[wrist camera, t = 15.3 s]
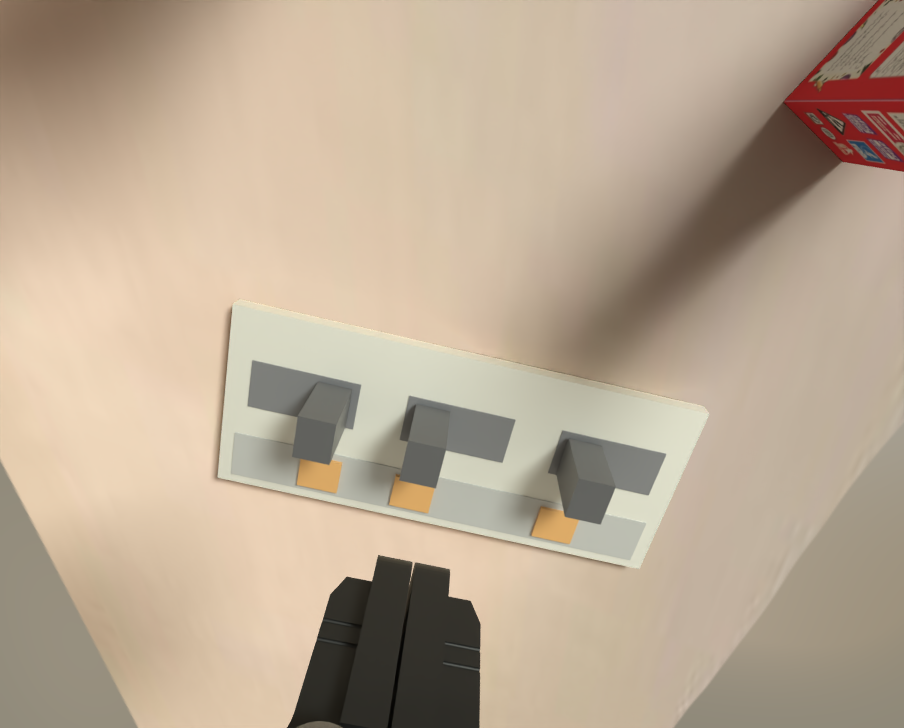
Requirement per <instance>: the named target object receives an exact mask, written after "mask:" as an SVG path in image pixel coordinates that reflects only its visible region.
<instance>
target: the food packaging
mask: <svg viewBox="0 0 904 728" xmlns="http://www.w3.org/2000/svg"><path fill="white" fill-rule="evenodd" d="M784 103H785V104H786V105H787V106H788V107H789V108H790V109H791V110H792V111H793V112H794V113H795V114H796V115H797V116H798V117H799V118H800V119H801V120H802V121H803V122H804V123H805V124H806V125H807V126H808V127H809V128H810V129H811V130H812V131H813V132H814V133H815V134H816V135H817V136H818V137H819V138H820V139H821V140H822V141H823V142H824V143H825V144H826V145H827V146H828V147H829V148H830V149H831V150H832V151H833V152H834V153H835V154H836V155H837V156H838V157H839V158H840V159H841V160H842V161H843V162H847V163H854V164H860V165H866V166H872V167H878V168H884V169H890V170H897V171H903V172H904V0H878V1H877V3H876V4H875V5H874V6H873V7H872V8H871V9H870V10H869V11H868V12H867V13H866V14H865V15H864V16H863V17H862V19H861V20H860V21H859V22H858V23H857V24H856V25H855V26H854V27H853V28H852V29H851V30H850V31H849V32H848V33H847V34H846V36H845V37H844V38H843V39H842V40H841V41H840V42H839V43H838V44H837V45H836V46H835V47H834V48H833V49H832V50H831V52H830V53H829V54H828V55H827V56H826V57H825V58H824V59H823V60H822V61H821V62H820V63H819V64H818V65H817V66H816V68H815V69H814V70H813V71H812V72H811V73H810V74H809V75H808V76H807V77H806V78H805V79H804V80H803V81H802V82H801V83H800V85H799V86H798V87H797V88H796V89H795V90H794V91H793V92H792V93H791V94H790V95H789V96H788V97H787V98H786V99H785V101H784Z"/></svg>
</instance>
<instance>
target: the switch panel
mask: <svg viewBox="0 0 904 728" xmlns="http://www.w3.org/2000/svg"><path fill="white" fill-rule="evenodd" d="M318 382H322V383H327V384H331V385H336V386H340V387H344V388H349V389H353V390H352V395H351V401H350V406H349V412H348V417H347V423H346V427H345V430H344V432H343V434H342V437H341V439H340V441H339V444H338V446H337V448H336V451H335V453H334V455H333V458H332V460H331V462H330V465H326V464H322V463H317V462H313V461H308V460H304V459H299V458H295V457H292V453H293V446H294V439H295V432H296V425H297V418H298V415H299V413H300V411H301V410H302V408H303V406H304V405H305V403H306V401H307V400H308V398H309V396H310V395H311V393H312V391H313V389H314V388H315V386H316V384H317V383H318ZM416 404H420V405H424V406H428V407H433V408H437V409H442V410H446V411H450V419H449V428H448V438H447V447H446V452H445V456H444V460H443V464H442V467H441V471H440V475H439V479H438V483H437V486H436V488H431V487H427V486H422V485H417V484H413V483H408V482H404V481H399V479H400V474H401V470H402V465H403V461H404V456H405V452H406V447H407V443H408V438H409V434H410V430H411V425H412V421H413V417H414V412H415V408H416ZM708 416H709V413H708V411H707V410H706V409H705V407H704V406H701V405H697V404H693V403H688V402H684V401H680V400H675V399H671V398H667V397H662V396H658V395H654V394H649V393H645V392H641V391H636V390H632V389H628V388H623V387H619V386H615V385H610V384H606V383H602V382H597V381H593V380H589V379H584V378H580V377H576V376H571V375H567V374H563V373H558V372H554V371H550V370H545V369H541V368H537V367H532V366H528V365H524V364H519V363H515V362H511V361H506V360H502V359H498V358H493V357H489V356H485V355H480V354H476V353H472V352H467V351H463V350H459V349H454V348H450V347H446V346H441V345H437V344H433V343H428V342H424V341H420V340H415V339H411V338H407V337H402V336H398V335H394V334H390V333H385V332H381V331H377V330H372V329H368V328H364V327H359V326H355V325H351V324H346V323H342V322H338V321H333V320H329V319H325V318H320V317H316V316H312V315H307V314H303V313H299V312H294V311H290V310H286V309H281V308H277V307H273V306H268V305H264V304H260V303H255V302H251V301H247V300H242V299H239V300H237V301H236V302H235V303H234V304H233V307H232V318H231V329H230V341H229V352H228V364H227V375H226V386H225V398H224V409H223V421H222V432H221V443H220V455H219V466H218V478H222V479H226V480H231V481H235V482H240V483H245V484H249V485H254V486H258V487H263V488H268V489H272V490H277V491H281V492H286V493H291V494H295V495H300V496H305V497H309V498H314V499H318V500H323V501H328V502H332V503H337V504H341V505H346V506H351V507H355V508H360V509H364V510H369V511H374V512H378V513H383V514H387V515H392V516H397V517H401V518H406V519H410V520H415V521H420V522H424V523H429V524H434V525H438V526H443V527H447V528H452V529H457V530H461V531H466V532H470V533H475V534H480V535H484V536H489V537H493V538H498V539H503V540H507V541H512V542H516V543H521V544H526V545H530V546H535V547H539V548H544V549H549V550H553V551H558V552H563V553H567V554H572V555H576V556H581V557H586V558H590V559H595V560H599V561H604V562H609V563H613V564H618V565H622V566H627V567H632V568H636V569H639V568H640V566H641V564H642V562H643V559H644V557H645V555H646V553H647V551H648V548H649V546H650V544H651V542H652V540H653V537H654V535H655V533H656V531H657V529H658V526H659V524H660V522H661V520H662V518H663V515H664V513H665V511H666V509H667V506H668V504H669V502H670V500H671V498H672V495H673V493H674V491H675V489H676V487H677V484H678V482H679V480H680V478H681V476H682V473H683V471H684V469H685V467H686V465H687V462H688V460H689V458H690V456H691V454H692V451H693V449H694V447H695V445H696V442H697V440H698V438H699V436H700V434H701V431H702V429H703V427H704V425H705V423H706V420H707V418H708ZM569 438H570V439H575V440H579V441H583V442H588V443H592V444H597V445H601V446H602V448H603V451H604V454H605V457H606V460H607V462H608V465H609V468H610V471H611V474H612V477H613V480H614V483H615V486H616V488H615V491H614V493H613V495H612V498H611V500H610V503H609V505H608V508H607V510H606V513H605V515H604V518H603V520H602V523H601V525H599V524H595V523H590V522H586V521H581V520H577V519H572V518H568V517H565V516H564V511H563V506H562V501H561V495H560V490H559V485H558V480H557V475H556V473H557V470H558V467H559V464H560V461H561V458H562V456H563V453H564V450H565V447H566V444H567V441H568V439H569Z"/></svg>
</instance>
